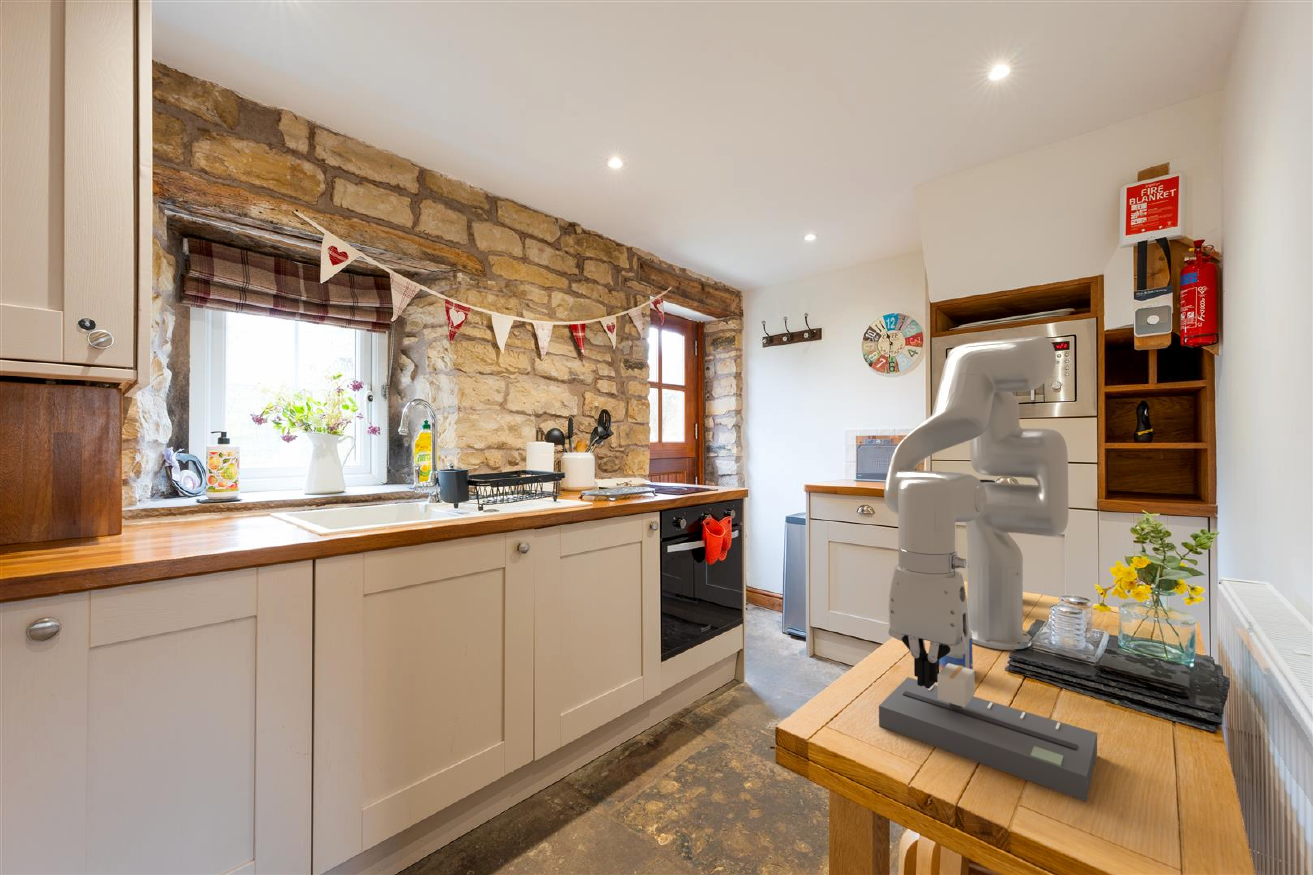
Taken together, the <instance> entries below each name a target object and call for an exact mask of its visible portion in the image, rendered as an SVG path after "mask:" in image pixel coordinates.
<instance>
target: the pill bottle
mask: <svg viewBox="0 0 1313 875" xmlns="http://www.w3.org/2000/svg"><path fill="white" fill-rule="evenodd" d="M965 639H966V643H967V647H968V651H967V652H966V653H965V654H947V655H945V656H944V657H942V658H941V659H939V669H940V670H942V669H943V668H944V667H945V666H946V665H947V664H948V663H950V664H954V665H957V666H959V665H960V666H963V667H965V668H969V669H972V670H974V669H973V664H974V663H973V660H974V659H973V656H974V655H973V643H972V632H971V630H970V629H969V631H968V635H967V637H965Z"/></svg>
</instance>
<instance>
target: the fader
mask: <svg viewBox="0 0 1313 875" xmlns="http://www.w3.org/2000/svg"><path fill="white" fill-rule="evenodd" d="M975 671H976V670H975V669H973V670H972V669H969V668H965V667H963V666H960V665H959V666H957V665H954V664H950V663H948V664H947V665H946V666H945V667H944V668H943V669H940V670H939V674H938V682H937V686H938V699H939V700H942V701H945V702H949V707H951V708H954V709H957V710H961V709H962V707H966V705H967V704H968V703H969V701H970V700H971V698H972V697H973V696H974V697H975V694H976V692H975V691H976V690H975V688H976V687H975V680H976V679H975V678H976V677H975V676H976V674H975V673H976V672H975Z"/></svg>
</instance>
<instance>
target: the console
mask: <svg viewBox="0 0 1313 875" xmlns="http://www.w3.org/2000/svg"><path fill="white" fill-rule="evenodd" d="M878 726H879V727H881V728H884V729H887V730H890V731H893V732H895V733H897V734H899V735H902V736H906V737H908V738H910V739H914V740H916V741H919V742H923V743H925V744H927V745H930V746H933V747H936V748H938V749H940V750H944V751H947V752H949V753H952V754H954V755H958V756H960V757H962V758H965V759H968V760H971V761H974V762H976V763H979V764H982V765H984V766H986V767H987V766H988V767H991V768H993V769H996V770H998V771H1002V772H1004V773H1007V774H1009V775H1012V776H1015V777H1017V778H1019V779H1020V778H1021V779H1022V780H1026V781H1028V782H1031V783H1034V784H1036V785H1039V786H1041V787H1044V788H1047V789H1051V790H1053V791H1056V792H1058V793H1060V794H1064V795H1067V796H1069V797H1071V798H1075V799H1078V800H1080V801H1083V802H1085V803H1087V802H1088V798H1089V794H1090V793H1089V792H1090V788H1091V783H1092V779H1093V774H1094V770H1095V765H1096V761H1097V757H1098V732H1096V731H1093V730H1090V729H1085V728H1081V727H1078V726H1076V725H1072V724H1068V723H1065V722H1062V721H1058V720H1055V719H1051V718H1048V717H1044V716H1042V715H1038V714H1034V713H1031V712H1028V711H1024V710H1020V709H1018V708H1015V707H1011V706H1008V705H1004V704H1001V703H999V702H998V703H997V702H993V701H990V700H987V699H983V698H981V697H977V696H975V695H974V696H973V697H972V698H971V700H970V701H969V703H968V704H967V705H966V707H962V709H961V710H957V709H954V708H951V707H949V702H945V701H942V700H939V699H938V684H937V685H936V684H934V685H933V686H932V687H931V688H930V689H928V688H925V686H918V685H917V679H915V678H914V677H913V678H912V677H911V676H910V677H909V676H907V677H906V678H904V680H903V681H902V682H901V683H900V684H899V685H898V686H897V687H896V688H895V689H894V690H893V691H892V692H891V693H890V694H889V695H888V696H887V697H886V698H885V699H884V700H883V701H882V702H881V703H880V704H879V705H878Z"/></svg>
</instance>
